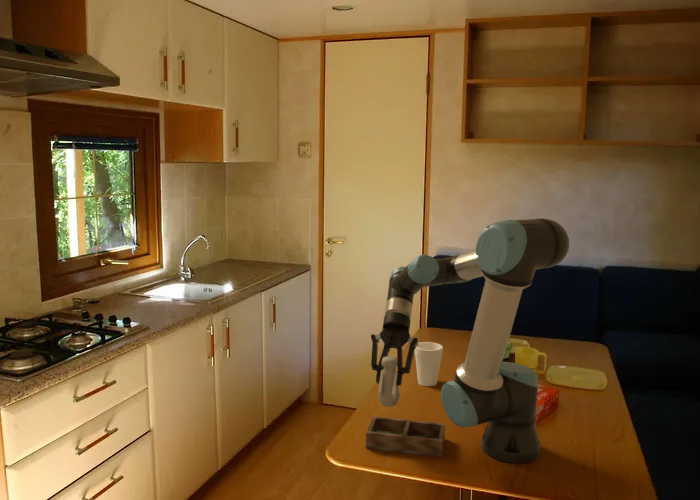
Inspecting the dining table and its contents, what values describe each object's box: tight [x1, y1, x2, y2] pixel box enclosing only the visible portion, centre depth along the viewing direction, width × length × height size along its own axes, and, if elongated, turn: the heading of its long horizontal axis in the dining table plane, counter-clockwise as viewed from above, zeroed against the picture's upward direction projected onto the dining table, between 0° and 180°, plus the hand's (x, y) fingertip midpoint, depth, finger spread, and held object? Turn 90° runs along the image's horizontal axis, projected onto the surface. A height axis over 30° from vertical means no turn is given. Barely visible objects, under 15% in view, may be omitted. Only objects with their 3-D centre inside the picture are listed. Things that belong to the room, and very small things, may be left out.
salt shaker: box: [377, 355, 401, 408], centre depth 165 cm, size 6×6×13 cm
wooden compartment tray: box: [365, 415, 446, 458], centre depth 166 cm, size 20×10×4 cm, turn 77°
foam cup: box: [414, 341, 444, 387], centre depth 209 cm, size 10×9×13 cm
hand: (386, 395), depth 162 cm, fingers closed on salt shaker, 3 cm apart
